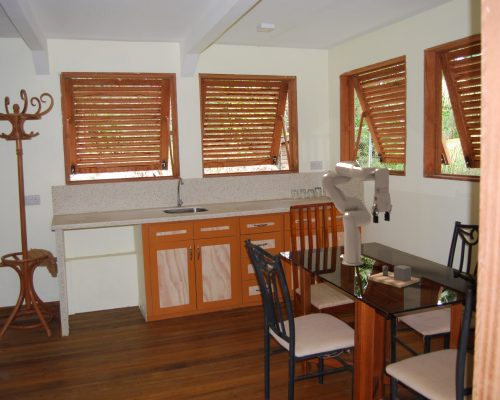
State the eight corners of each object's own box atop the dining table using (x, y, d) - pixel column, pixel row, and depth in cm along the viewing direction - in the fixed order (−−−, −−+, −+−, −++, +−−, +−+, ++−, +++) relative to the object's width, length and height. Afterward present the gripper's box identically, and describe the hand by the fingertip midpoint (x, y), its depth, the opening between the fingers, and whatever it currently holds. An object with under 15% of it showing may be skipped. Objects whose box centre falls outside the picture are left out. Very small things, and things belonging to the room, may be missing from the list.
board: (367, 279, 255) (368, 267, 254) (387, 273, 265) (387, 262, 264) (400, 287, 239) (400, 274, 238) (419, 281, 249) (419, 269, 248)
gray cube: (403, 281, 243) (403, 269, 242) (393, 279, 248) (393, 266, 247) (410, 279, 247) (411, 267, 246) (400, 277, 252) (401, 264, 251)
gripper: (377, 192, 254) (376, 224, 256) (397, 190, 265) (396, 220, 267) (365, 191, 260) (365, 223, 262) (386, 189, 271) (385, 219, 273)
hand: (381, 221), depth 264 cm, fingers open, 9 cm apart
